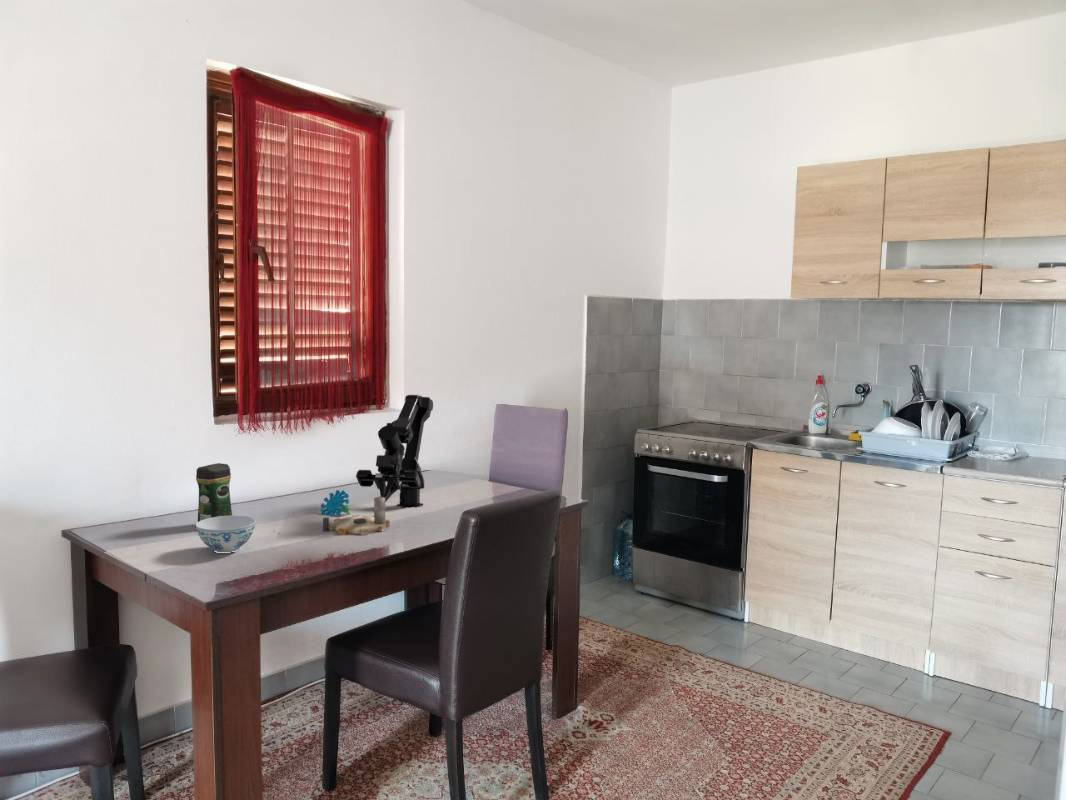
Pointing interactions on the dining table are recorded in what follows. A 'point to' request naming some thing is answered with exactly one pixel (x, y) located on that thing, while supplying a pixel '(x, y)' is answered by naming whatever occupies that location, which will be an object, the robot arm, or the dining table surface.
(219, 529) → the chinaware
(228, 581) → the dining table surface
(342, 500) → the gear
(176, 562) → the dining table surface
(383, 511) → the turntable
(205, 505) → the coffee jar
